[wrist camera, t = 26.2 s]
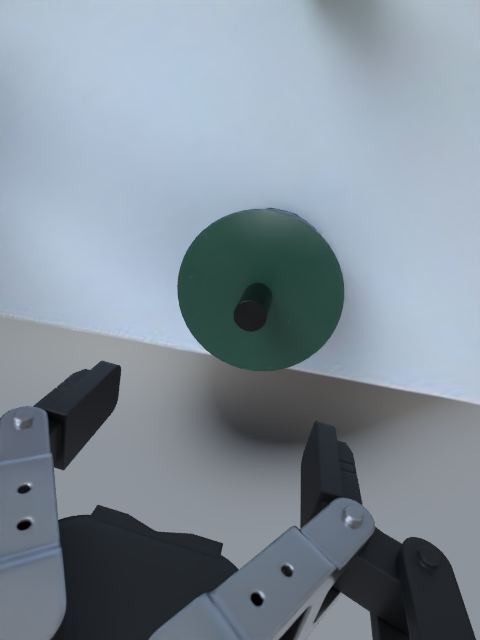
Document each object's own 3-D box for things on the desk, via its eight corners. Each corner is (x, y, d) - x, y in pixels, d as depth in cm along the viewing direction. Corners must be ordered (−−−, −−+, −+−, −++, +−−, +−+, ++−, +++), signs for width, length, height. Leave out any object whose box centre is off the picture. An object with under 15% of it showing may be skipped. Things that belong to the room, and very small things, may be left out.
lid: (171, 343, 34) (145, 374, 28) (195, 190, 29) (170, 192, 23) (315, 382, 33) (318, 422, 27) (366, 231, 28) (382, 243, 22)
